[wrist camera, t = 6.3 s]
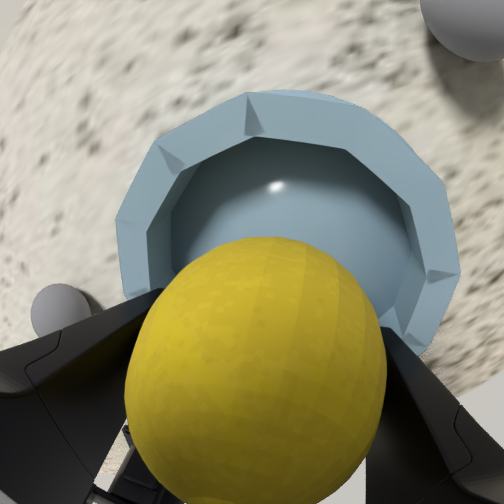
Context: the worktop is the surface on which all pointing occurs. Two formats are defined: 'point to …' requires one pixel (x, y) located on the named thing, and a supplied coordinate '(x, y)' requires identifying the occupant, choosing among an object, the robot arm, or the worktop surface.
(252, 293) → the lemon
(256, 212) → the dish
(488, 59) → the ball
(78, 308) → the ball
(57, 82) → the worktop surface
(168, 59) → the worktop surface
